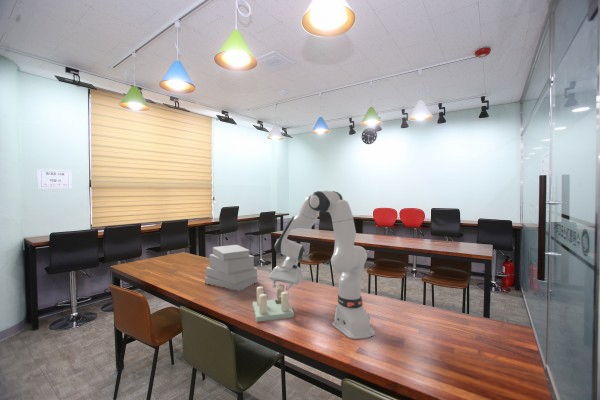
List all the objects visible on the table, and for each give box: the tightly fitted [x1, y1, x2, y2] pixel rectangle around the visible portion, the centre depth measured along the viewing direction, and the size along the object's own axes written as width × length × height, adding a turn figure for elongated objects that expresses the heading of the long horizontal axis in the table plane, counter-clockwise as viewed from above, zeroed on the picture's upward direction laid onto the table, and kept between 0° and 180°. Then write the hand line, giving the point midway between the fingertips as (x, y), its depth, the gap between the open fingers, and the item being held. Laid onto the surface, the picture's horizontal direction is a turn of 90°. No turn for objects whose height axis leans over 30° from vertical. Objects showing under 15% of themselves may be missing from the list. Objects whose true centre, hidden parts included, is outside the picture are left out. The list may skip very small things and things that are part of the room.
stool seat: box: [252, 286, 295, 323], centre depth 150 cm, size 20×20×12 cm
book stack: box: [204, 244, 259, 292], centre depth 197 cm, size 30×35×26 cm
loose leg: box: [276, 284, 285, 304], centre depth 157 cm, size 4×4×12 cm
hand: (280, 288), depth 156 cm, fingers open, 8 cm apart
